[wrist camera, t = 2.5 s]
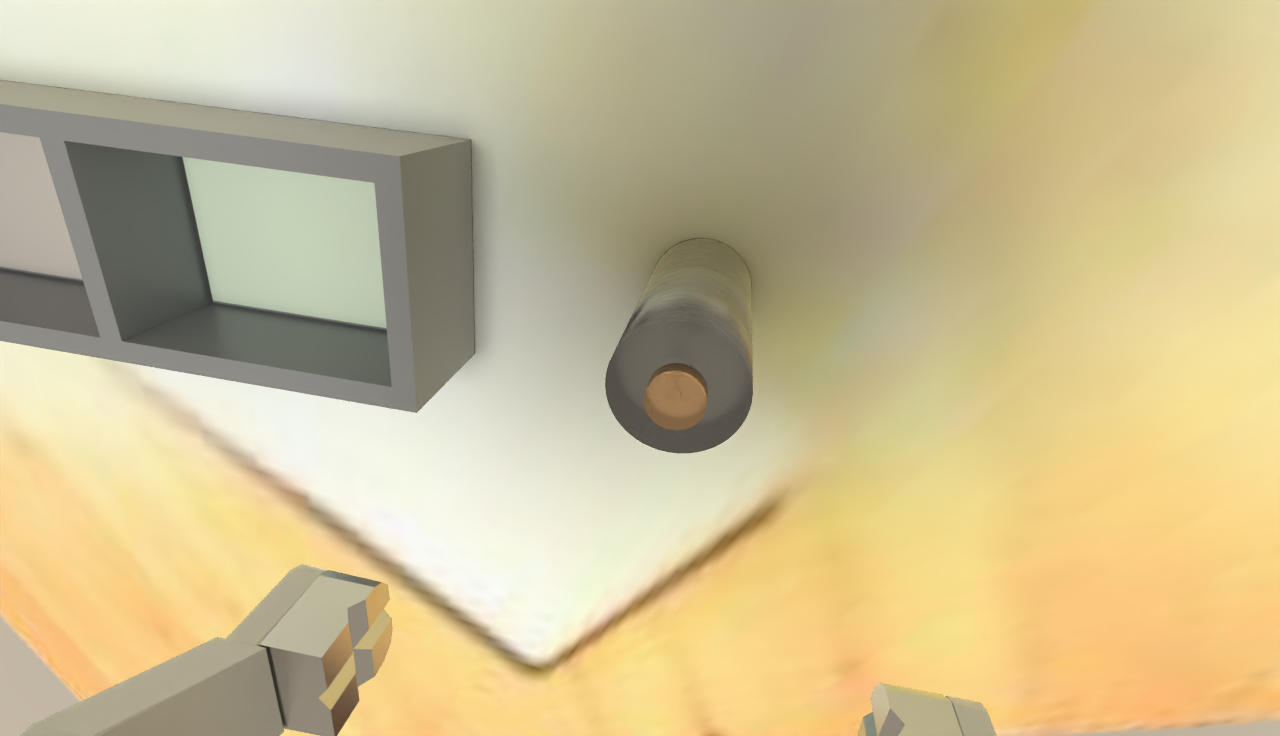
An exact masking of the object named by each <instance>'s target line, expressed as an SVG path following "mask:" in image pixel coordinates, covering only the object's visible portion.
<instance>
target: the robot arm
mask: <svg viewBox="0 0 1280 736" xmlns="http://www.w3.org/2000/svg"><path fill="white" fill-rule="evenodd" d="M389 600H390V597H389V591H388V585H387V584H384V583H382V582H378V581H373V580H369V579H365V578H360V577H356V576H352V575H347V574H343V573H339V572H335V571H330V570H325V569H320V568H316V567H311V566H307V565H300V566H298V567H296V568H294V569H292V570H290V571H289V573H288V574H287V575H286V576H285V577H284V578H283V579H282V580H281V581H280V582H279V583H278V584H277V585H276V586H275V587H274V588H273V589H272V591H271V592H270V593H269V594H268V595H267V596H266V597H265V598H264V599H263V600H262V601H261V602H260V603H259V604H258V605H257V606H256V607H255V608H254V610H253V611H252V612H251V613H250V614H249V615H248V616H247V617H246V618H245V619H244V620H243V621H242V622H241V623H240V624H239V625H238V626H237V628H236V629H235V630H234V631H233V632H232V633H231V634H230V635H229V636H228V637H227V638H226V639H225V638H219V637H217V638H215V639H212V640H210V641H208V642H206V643H204V644H202V645H200V646H198V647H195V648H193V649H191V650H189V651H187V652H185V653H183V654H181V655H179V656H176V657H174V658H172V659H170V660H168V661H166V662H164V663H162V664H159V665H157V666H155V667H153V668H151V669H149V670H147V671H145V672H143V673H140V674H138V675H136V676H134V677H132V678H130V679H128V680H126V681H123V682H121V683H119V684H117V685H115V686H113V687H111V688H109V689H107V690H104V691H102V692H100V693H98V694H96V695H94V696H92V697H90V698H87V699H85V700H83V701H81V702H79V703H77V704H75V705H73V706H71V707H68V708H66V709H64V710H62V711H60V712H58V713H56V714H54V715H52V716H49V717H47V718H45V719H43V720H41V721H39V722H37V723H35V724H33V725H31V726H30V727H29V728H28V729H27V730H26V731H25V732H23V733H22V734H21V735H20V736H279V735H280V734H282V733H283V732H284V728H285V729H290V730H295V731H300V732H305V733H310V734H315V735H320V736H337V735H338V733H339V732H340V730H341V729H342V727H343V725H344V724H345V722H346V721H347V719H348V718H349V716H350V714H351V713H352V711H353V710H354V708H355V707H356V705H357V703H358V702H359V692H358V686H360V685H361V684H363V683H365V682H366V681H368V680H370V679H371V678H373V677H375V675H376V673H377V672H378V670H379V668H380V667H381V665H382V663H383V662H384V659H385V657H386V654H387V651H388V649H389V646H390V643H391V636H392V619H391V617H390V616H389V615H388V614H387V612H386V611H385V610H384V609H383V608H384V607H385V606H386V604H387V603H388V601H389ZM871 704H872V709H873V712H872V713H870V714H868V715H866V716H864V717H863V719H862V722H861V725H860V728H859V731H858V736H997V735H996V732H995V730H994V727H993V725H992V722H991V720H990V717H989V714H988V712H987V709H986V708H985V707H984V706H983V705H982V704H981V703H980V702H975V701H970V700H965V699H960V698H955V697H950V696H944V695H942V694H937V693H932V692H926V691H921V690H916V689H911V688H905V687H900V686H895V685H890V684H884V683H879V684H878V685H877V686H876V687H875V688H874V691H873V693H872V696H871Z"/></svg>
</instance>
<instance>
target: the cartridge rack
mask: <svg viewBox="0 0 1280 736" xmlns="http://www.w3.org/2000/svg"><path fill="white" fill-rule="evenodd" d="M0 341H5V342H11V343H17V344H22V345H28V346H34V347H40V348H46V349H51V350H57V351H63V352H69V353H74V354H80V355H86V356H92V357H98V358H103V359H109V360H115V361H121V362H126V363H132V364H138V365H144V366H150V367H155V368H161V369H167V370H173V371H179V372H184V373H190V374H196V375H202V376H207V377H213V378H219V379H225V380H231V381H236V382H242V383H248V384H254V385H259V386H265V387H271V388H277V389H283V390H288V391H294V392H300V393H306V394H311V395H317V396H323V397H329V398H335V399H340V400H346V401H352V402H358V403H364V404H369V405H375V406H381V407H387V408H392V409H398V410H404V411H410V412H416V413H417V412H418V411H419V410H420V409H421V408H422V407H423V406H424V405H425V404H426V403H427V402H428V401H429V400H430V399H431V398H432V397H433V396H434V395H435V394H436V393H437V392H438V391H439V390H440V389H441V388H442V387H443V386H444V384H445V383H446V382H447V381H448V380H449V379H450V378H451V377H452V376H453V375H454V374H455V373H456V372H457V371H458V370H459V369H460V368H461V367H462V366H463V365H464V364H465V363H466V362H467V361H468V360H469V359H470V358H471V357H472V356H473V355H474V354H475V340H474V286H473V231H472V177H471V140H470V139H462V138H454V137H446V136H438V135H430V134H423V133H415V132H407V131H399V130H391V129H383V128H375V127H367V126H359V125H352V124H344V123H336V122H328V121H320V120H312V119H304V118H296V117H288V116H280V115H273V114H265V113H257V112H249V111H241V110H233V109H225V108H217V107H209V106H202V105H194V104H186V103H178V102H170V101H162V100H154V99H146V98H138V97H130V96H123V95H115V94H107V93H99V92H91V91H83V90H75V89H67V88H59V87H52V86H44V85H36V84H28V83H20V82H12V81H4V80H0Z"/></svg>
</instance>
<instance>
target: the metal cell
mask: <svg viewBox="0 0 1280 736" xmlns="http://www.w3.org/2000/svg"><path fill="white" fill-rule="evenodd" d="M605 388H606V395H607V399H608V403H609V405H610V408H611V410H612V412H613V414H614V416H615V417H616V419H617V420H618V422H619V423H620V424H621V426H622V427H623V428H624V429H625V430H626V431H627V432H628V433H629V434H631V435H632V436H633V437H634V438H636V439H637V440H639V441H641V442H642V443H644V444H646V445H648V446H650V447H653V448H656V449H658V450H662V451H666V452H672V453H694V452H699V451H704V450H707V449H710V448H713V447H715V446H717V445H719V444H721V443H723V442H724V441H726V440H727V439H728V438H730V437H731V436H732V435H733V434H734V433H735V432H736V431H737V430H738V429H739V428H740V426H741V425H742V424H743V422H744V420H745V419H746V417H747V415H748V412H749V410H750V406H751V403H752V395H753V381H752V290H751V277H750V273H749V270H748V268H747V266H746V264H745V262H744V261H743V259H742V258H741V257H740V255H739V254H738V253H737V252H736V251H734V250H733V249H732V248H730V247H729V246H728V245H726V244H724V243H722V242H719V241H716V240H712V239H705V238H697V239H690V240H686V241H683V242H681V243H679V244H677V245H675V246H673V247H672V248H670V249H669V250H668V251H667V252H666V253H665V254H664V255H663V256H662V257H661V259H660V260H659V262H658V263H657V265H656V267H655V269H654V271H653V273H652V275H651V278H650V280H649V282H648V284H647V286H646V288H645V290H644V292H643V294H642V296H641V298H640V300H639V302H638V304H637V306H636V308H635V311H634V313H633V315H632V317H631V319H630V321H629V323H628V325H627V327H626V329H625V331H624V333H623V335H622V337H621V339H620V341H619V344H618V346H617V348H616V350H615V352H614V354H613V356H612V358H611V360H610V362H609V365H608V368H607V373H606V384H605Z"/></svg>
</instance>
